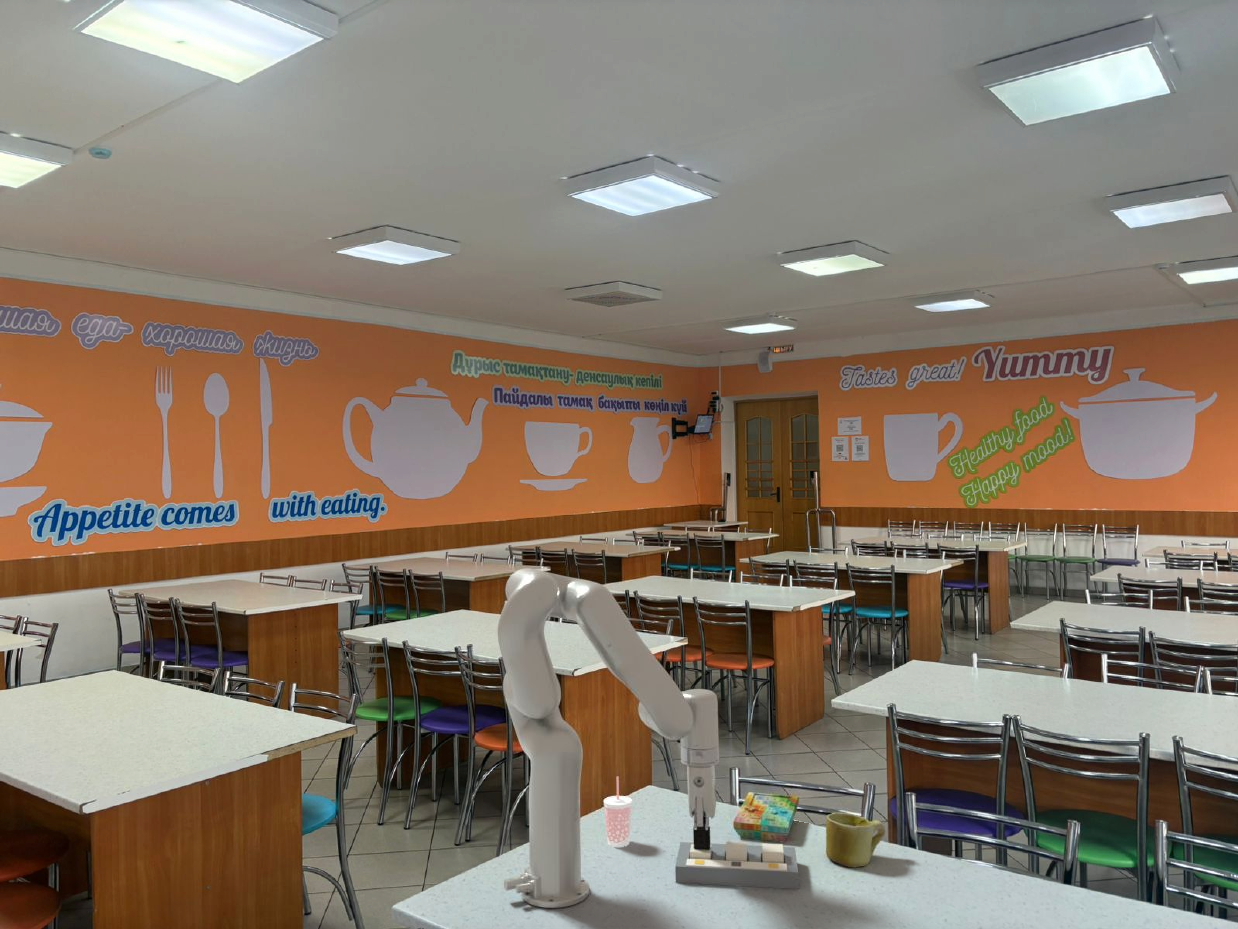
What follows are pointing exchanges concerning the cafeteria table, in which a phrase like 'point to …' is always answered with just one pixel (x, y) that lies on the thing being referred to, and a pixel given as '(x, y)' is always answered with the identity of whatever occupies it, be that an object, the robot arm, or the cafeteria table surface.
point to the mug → (852, 838)
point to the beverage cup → (618, 819)
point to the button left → (700, 853)
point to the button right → (772, 853)
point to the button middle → (736, 851)
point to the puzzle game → (766, 816)
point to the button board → (737, 868)
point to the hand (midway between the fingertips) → (702, 848)
